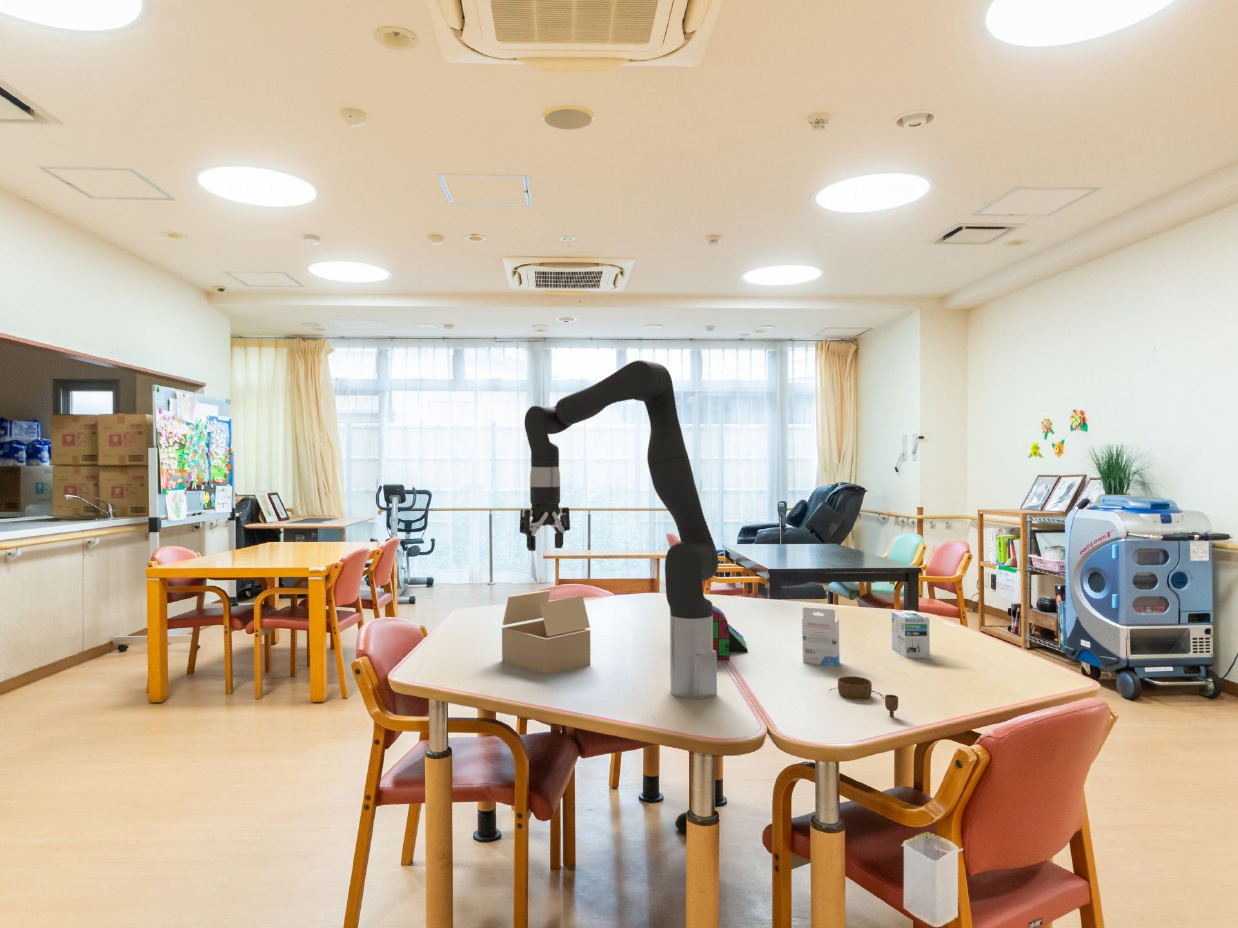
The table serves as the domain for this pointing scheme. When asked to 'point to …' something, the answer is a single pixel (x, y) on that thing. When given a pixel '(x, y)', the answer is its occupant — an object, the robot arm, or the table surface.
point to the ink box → (820, 637)
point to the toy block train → (725, 636)
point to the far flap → (525, 607)
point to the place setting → (863, 691)
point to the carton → (545, 648)
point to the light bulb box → (910, 634)
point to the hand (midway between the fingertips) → (545, 549)
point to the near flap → (564, 615)
